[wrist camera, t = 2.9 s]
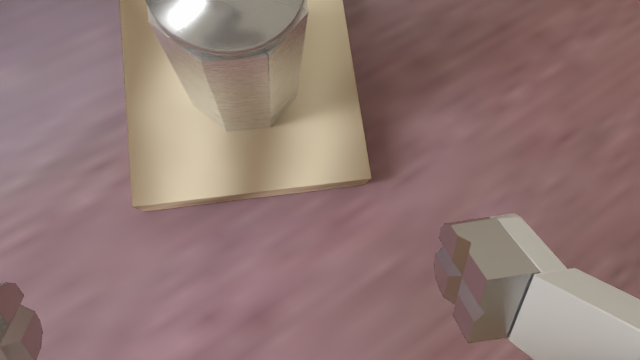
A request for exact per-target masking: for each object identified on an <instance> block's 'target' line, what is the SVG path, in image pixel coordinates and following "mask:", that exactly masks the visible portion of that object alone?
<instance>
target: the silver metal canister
mask: <svg viewBox="0 0 640 360" xmlns="http://www.w3.org/2000/svg"><path fill="white" fill-rule="evenodd" d="M145 1H146V3H147V11H148V22H149V24H150V26H151V27H152V29H153V31H154V33H155V35H156V37H157V39H158V41H159V42H160V44H161V46H162V48H163V50H164V52H165V54H166V56H167V57H168V59H169V61H170V63H171V65H172V67H173V69H174V71H175V72H176V74H177V76H178V78H179V80H180V82H181V84H182V85H183V87H184V89H185V91H186V93H187V95H188V97H189V99H190V100H191V102H192V104H193V106H194V107H196V108H197V109H198V110H199V111H201V112H202V113H203V114H205V115H206V116H207V117H209V118H210V119H211V120H212V121H214V122H215V123H216V124H218V125H219V126H220V127H222V128H223V129H224V130H225V131H227V132H231V131H241V130H251V129H260V128H270V127H272V125H273V124H274V123H275V122H276V121H277V119H278V118H279V117H280V116H281V115H282V113H283V112H284V111H285V110H286V109H287V107H288V106H289V105H290V104H291V103H292V101H293V100H294V99H295V98H296V97H297V91H298V84H299V77H300V69H301V62H302V54H303V47H304V40H305V32H306V25H307V18H308V5H307V0H145Z"/></svg>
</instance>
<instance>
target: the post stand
mask: <svg viewBox="0 0 640 360" xmlns="http://www.w3.org/2000/svg"><path fill="white" fill-rule="evenodd" d="M119 3H120V19H121V35H122V51H123V67H124V83H125V99H126V115H127V131H128V147H129V163H130V179H131V195H132V207H134V208H136V209H139V210H142V211H153V210H161V209H170V208H178V207H186V206H194V205H202V204H211V203H219V202H227V201H235V200H244V199H252V198H260V197H268V196H276V195H285V194H293V193H301V192H309V191H318V190H326V189H334V188H342V187H350V186H359V185H364V184H365V183H366V182H368V181H369V180H370V179H371V172H370V166H369V160H368V154H367V148H366V142H365V135H364V129H363V123H362V117H361V111H360V105H359V99H358V92H357V86H356V80H355V74H354V68H353V62H352V55H351V49H350V43H349V37H348V31H347V25H346V18H345V12H344V6H343V0H307V5H308V18H307V25H306V32H305V40H304V47H303V54H302V62H301V69H300V77H299V84H298V91H297V97H296V98H295V99H294V100H293V101H292V103H291V104H290V105H289V106H288V107H287V109H286V110H285V111H284V112H283V113H282V115H281V116H280V117H279V118H278V119H277V121H276V122H275V123H274V124H273V125H272V127H270V128H260V129H251V130H241V131H231V132H227V131H225V130H224V129H223V128H222V127H220V126H219V125H218V124H216V123H215V122H214V121H212V120H211V119H210V118H209V117H207V116H206V115H205V114H203V113H202V112H201V111H199V110H198V109H197V108H196V107H194V106H193V104H192V102H191V100H190V99H189V97H188V95H187V93H186V91H185V89H184V87H183V85H182V84H181V82H180V80H179V78H178V76H177V74H176V72H175V71H174V69H173V67H172V65H171V63H170V61H169V59H168V57H167V56H166V54H165V52H164V50H163V48H162V46H161V44H160V42H159V41H158V39H157V37H156V35H155V33H154V31H153V29H152V27H151V26H150V24H149V22H148V11H147V3H146V1H145V0H119Z"/></svg>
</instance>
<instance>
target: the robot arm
mask: <svg viewBox="0 0 640 360" xmlns="http://www.w3.org/2000/svg"><path fill="white" fill-rule="evenodd" d="M439 239H440V241H441V243H442V244H443V246H442V247H441V249H440V250H439V251H438V252H437V253H436V255H435V261H434V270H435V278H436V281H437V284H438V287H439V289H440V291H441V293H442V295H443V297H444V298H445V299H447V300H448V301H450V302H451V303H453V304H454V305H455V308H454V313H453V317H454V318H455V320H456V322H457V324H458V326H459V328H460V330H461V332H462V334H463V335H464V337H465V339H466V341H467V343H475V342H481V341H488V340H495V339H502V338H509V339H508V340H509V341H511V342H512V343H513V344H514V345H516V346H517V347H518V348H519V349H521V350H522V351H523V352H525V353H526V354H527V355H528V356H530V357H531V358H532V359H533V360H640V299H638V298H636V297H634V296H632V295H630V294H628V293H625V292H623V291H621V290H619V289H617V288H615V287H613V286H611V285H609V284H607V283H605V282H603V281H601V280H599V279H597V278H594V277H592V276H590V275H588V274H586V273H584V272H582V271H580V270H578V269H576V268H571V269H567V268H566V267H565V266H564V264H563V263H562V262H561V261H560V260H559V259H558V258H557V257H556V256H555V254H554V253H553V252H552V251H551V250H550V249H549V248H548V247H547V246H546V244H545V243H544V242H543V241H542V240H541V239H540V238H539V237H538V236H537V234H536V233H535V232H534V231H533V230H532V229H531V228H530V227H529V226H528V224H527V223H526V222H525V221H524V220H523V219H522V218H521V217H520V216H519V215H517V214H515V213H511V214H504V215H497V216H491V217H485V218H478V219H471V220H464V221H457V222H450V223H444V224H443V226H442V227H441V229H440V234H439ZM23 297H24V294H23V293H22V291H21V290H20V289H19V287H18V286H17V285H16V283H8V282H4V283H0V360H37V357H38V354H39V352H40V349H41V345H42V334H43V330H42V326H41V322H40V319H39V318H38V316H37V314H36V313H35V311H33V310H31V309H29V308H27V307H25V306H23V305H21V302H22V300H23Z"/></svg>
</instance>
